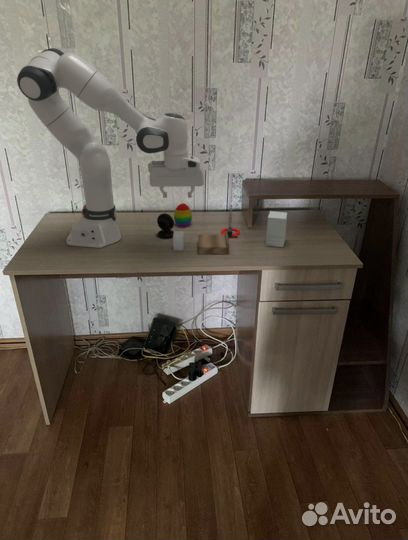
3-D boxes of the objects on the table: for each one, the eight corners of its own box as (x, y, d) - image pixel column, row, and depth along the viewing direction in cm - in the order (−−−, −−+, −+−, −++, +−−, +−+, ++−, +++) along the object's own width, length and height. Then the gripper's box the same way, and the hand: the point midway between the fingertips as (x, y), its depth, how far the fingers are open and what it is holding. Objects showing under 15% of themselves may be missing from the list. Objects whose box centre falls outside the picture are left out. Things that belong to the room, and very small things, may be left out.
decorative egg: (188, 228, 181) (188, 207, 176) (171, 226, 183) (170, 205, 178) (194, 222, 188) (194, 201, 183) (177, 220, 190) (177, 199, 185)
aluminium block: (173, 250, 162) (173, 237, 160) (174, 244, 167) (173, 231, 164) (183, 250, 163) (183, 237, 160) (184, 244, 167) (183, 231, 164)
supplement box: (285, 240, 171) (288, 212, 165) (283, 247, 165) (286, 218, 159) (267, 238, 173) (270, 210, 167) (265, 245, 167) (267, 217, 160)
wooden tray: (198, 254, 160) (198, 243, 158) (198, 241, 170) (198, 231, 168) (228, 254, 160) (229, 243, 158) (227, 241, 170) (227, 231, 168)
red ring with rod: (222, 229, 182) (219, 237, 174) (223, 201, 176) (220, 208, 168) (240, 230, 181) (239, 238, 173) (242, 202, 175) (241, 209, 167)
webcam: (153, 236, 174) (152, 215, 169) (162, 230, 180) (161, 209, 175) (169, 240, 171) (168, 218, 166) (178, 233, 177) (177, 212, 172)
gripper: (146, 163, 145) (149, 200, 152) (203, 162, 145) (203, 199, 152) (148, 158, 150) (151, 194, 157) (203, 158, 150) (203, 194, 157)
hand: (177, 197), depth 154 cm, fingers open, 8 cm apart
